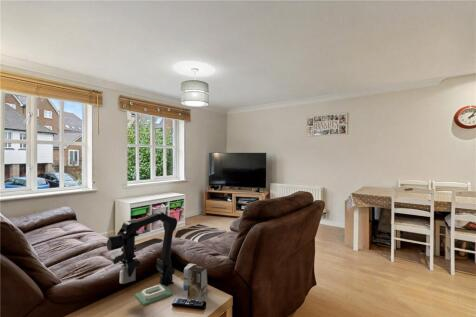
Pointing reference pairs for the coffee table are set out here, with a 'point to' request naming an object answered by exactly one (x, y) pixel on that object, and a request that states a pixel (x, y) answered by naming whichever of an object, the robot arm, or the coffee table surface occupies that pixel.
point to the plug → (126, 275)
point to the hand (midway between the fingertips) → (128, 275)
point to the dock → (153, 294)
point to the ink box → (186, 276)
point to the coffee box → (197, 283)
